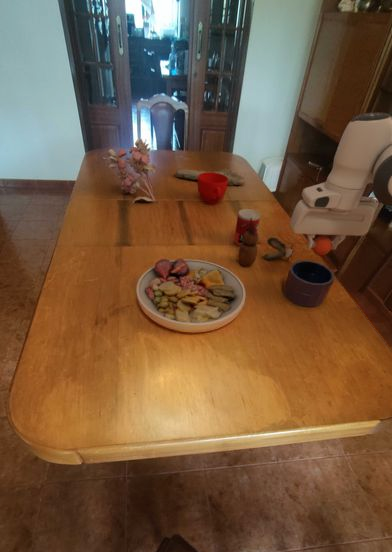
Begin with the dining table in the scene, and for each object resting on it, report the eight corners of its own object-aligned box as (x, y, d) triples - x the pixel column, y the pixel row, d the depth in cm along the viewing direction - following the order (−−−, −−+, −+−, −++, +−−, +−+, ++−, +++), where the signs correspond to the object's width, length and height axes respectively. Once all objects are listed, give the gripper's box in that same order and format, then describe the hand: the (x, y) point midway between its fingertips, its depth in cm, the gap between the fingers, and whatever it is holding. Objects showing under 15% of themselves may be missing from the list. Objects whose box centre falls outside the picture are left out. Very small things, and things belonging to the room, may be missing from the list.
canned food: (237, 249, 114) (242, 219, 106) (230, 238, 119) (235, 208, 111) (257, 248, 115) (263, 218, 107) (250, 237, 120) (255, 208, 112)
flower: (169, 185, 147) (143, 125, 131) (173, 200, 130) (144, 133, 114) (131, 205, 150) (101, 149, 134) (131, 221, 134) (96, 159, 117)
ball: (324, 249, 89) (330, 232, 85) (330, 259, 86) (337, 242, 82) (307, 249, 89) (313, 232, 85) (313, 258, 85) (319, 241, 81)
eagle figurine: (288, 249, 114) (264, 242, 113) (297, 239, 107) (272, 231, 106) (284, 268, 112) (260, 261, 111) (293, 260, 105) (268, 252, 104)
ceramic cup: (202, 212, 133) (204, 187, 126) (193, 196, 144) (194, 172, 137) (231, 211, 136) (235, 186, 129) (220, 195, 147) (223, 172, 140)
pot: (316, 282, 102) (325, 260, 96) (330, 307, 93) (341, 285, 88) (278, 282, 101) (285, 260, 95) (289, 307, 92) (297, 284, 86)
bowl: (263, 305, 92) (269, 283, 86) (189, 357, 76) (191, 333, 71) (191, 262, 105) (192, 240, 100) (115, 298, 90) (112, 275, 84)
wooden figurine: (236, 257, 109) (243, 214, 99) (252, 259, 110) (262, 216, 99) (237, 268, 105) (245, 224, 94) (254, 269, 105) (264, 226, 94)
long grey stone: (178, 175, 165) (173, 183, 159) (177, 164, 161) (173, 171, 155) (245, 180, 161) (243, 188, 155) (246, 169, 157) (245, 176, 151)
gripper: (375, 192, 79) (352, 243, 89) (296, 188, 77) (281, 241, 87) (388, 202, 75) (361, 255, 85) (304, 199, 73) (288, 253, 83)
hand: (320, 248), depth 86 cm, fingers closed on ball, 5 cm apart
